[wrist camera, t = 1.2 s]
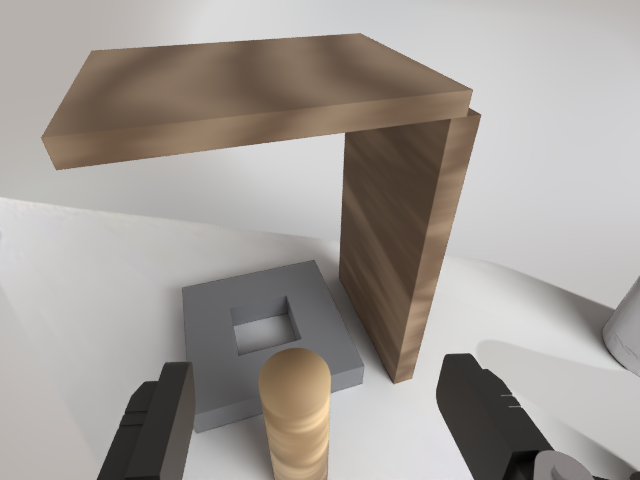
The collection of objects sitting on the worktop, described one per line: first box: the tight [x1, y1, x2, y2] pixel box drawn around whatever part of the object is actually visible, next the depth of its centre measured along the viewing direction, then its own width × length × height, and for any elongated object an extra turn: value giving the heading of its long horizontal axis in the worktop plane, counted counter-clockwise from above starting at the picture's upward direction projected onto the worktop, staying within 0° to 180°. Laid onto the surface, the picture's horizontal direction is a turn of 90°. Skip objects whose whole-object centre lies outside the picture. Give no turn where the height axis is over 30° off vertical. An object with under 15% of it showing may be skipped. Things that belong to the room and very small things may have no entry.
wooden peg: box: [258, 348, 331, 480], centre depth 28 cm, size 4×4×14 cm
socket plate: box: [182, 260, 364, 433], centre depth 42 cm, size 16×16×3 cm
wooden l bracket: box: [41, 33, 481, 384], centre depth 34 cm, size 22×16×28 cm
